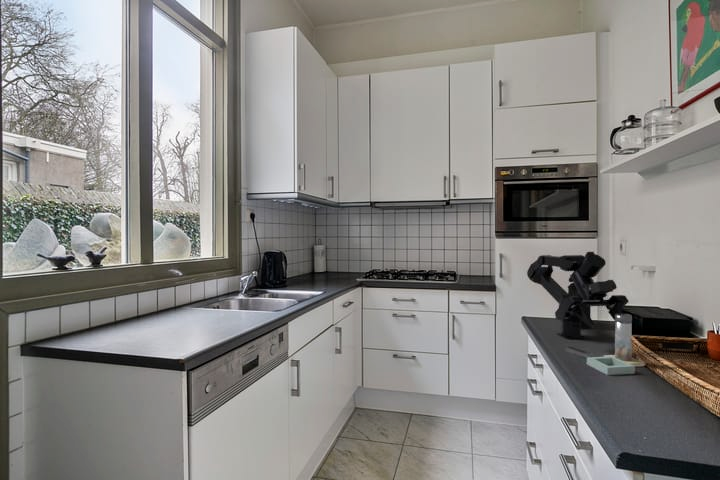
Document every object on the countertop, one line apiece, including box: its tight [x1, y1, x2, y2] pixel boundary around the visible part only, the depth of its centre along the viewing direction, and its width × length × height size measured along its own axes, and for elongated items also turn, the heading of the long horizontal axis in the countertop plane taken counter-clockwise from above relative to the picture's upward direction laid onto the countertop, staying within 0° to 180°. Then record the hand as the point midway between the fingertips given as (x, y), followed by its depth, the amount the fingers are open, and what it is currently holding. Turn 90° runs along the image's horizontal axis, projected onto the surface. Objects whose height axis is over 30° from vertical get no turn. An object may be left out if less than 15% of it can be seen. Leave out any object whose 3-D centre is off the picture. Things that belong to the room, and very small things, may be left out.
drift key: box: [565, 346, 595, 359], centre depth 118 cm, size 8×2×1 cm, turn 25°
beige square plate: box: [603, 354, 646, 368], centre depth 110 cm, size 7×7×1 cm
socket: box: [586, 356, 636, 376], centre depth 106 cm, size 8×8×2 cm
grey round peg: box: [614, 313, 633, 361], centre depth 110 cm, size 4×4×13 cm
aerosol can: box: [567, 282, 592, 330], centre depth 149 cm, size 8×8×20 cm
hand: (607, 326), depth 117 cm, fingers open, 9 cm apart
